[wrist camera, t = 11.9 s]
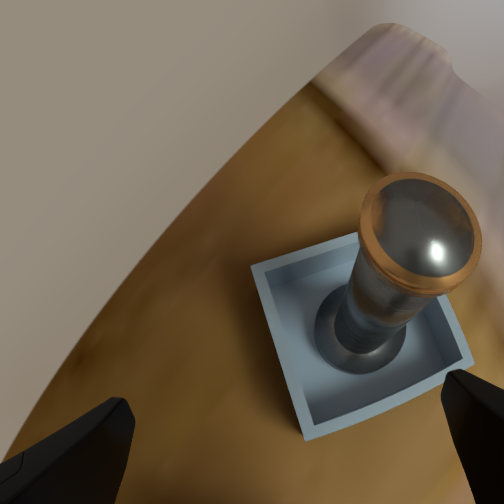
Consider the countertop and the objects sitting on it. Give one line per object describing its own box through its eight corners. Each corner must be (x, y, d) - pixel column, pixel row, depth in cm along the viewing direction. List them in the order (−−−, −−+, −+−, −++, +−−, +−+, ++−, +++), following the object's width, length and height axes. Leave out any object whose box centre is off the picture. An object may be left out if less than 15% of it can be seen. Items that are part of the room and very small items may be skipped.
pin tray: (451, 372, 18) (475, 363, 15) (303, 436, 17) (305, 441, 14) (392, 242, 23) (403, 216, 20) (257, 287, 23) (250, 265, 20)
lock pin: (354, 394, 18) (435, 364, 7) (295, 325, 20) (289, 212, 9) (418, 332, 19) (525, 235, 8) (360, 271, 21) (406, 132, 11)
